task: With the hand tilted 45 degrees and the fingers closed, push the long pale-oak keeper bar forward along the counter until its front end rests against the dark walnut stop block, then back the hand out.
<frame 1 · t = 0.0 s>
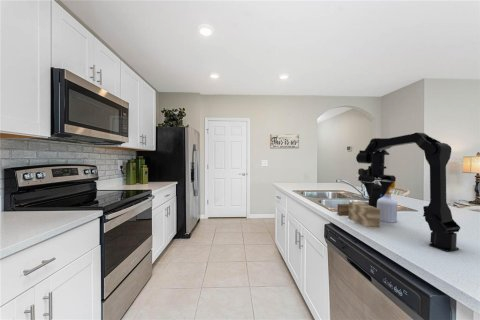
hand: (376, 195, 112), 15 cm above the countertop, tool pointing down, fingers open, 9 cm apart
aerosol can: (375, 214, 135), on the countertop
stop block: (346, 214, 132), on the countertop
keeper bar: (362, 222, 117), on the countertop
soap bottle: (386, 220, 122), on the countertop
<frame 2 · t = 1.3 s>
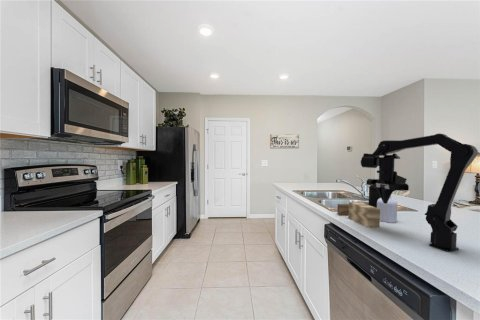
hand: (385, 203, 103), 13 cm above the countertop, tool pointing down, fingers closed
nothing on the countertop moved.
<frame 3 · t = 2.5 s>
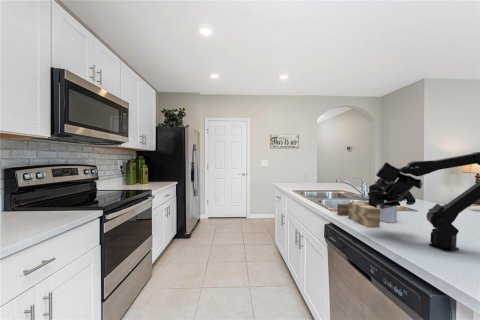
hand: (381, 208, 105), 10 cm above the countertop, tool tilted 45°, fingers closed
nothing on the countertop moved.
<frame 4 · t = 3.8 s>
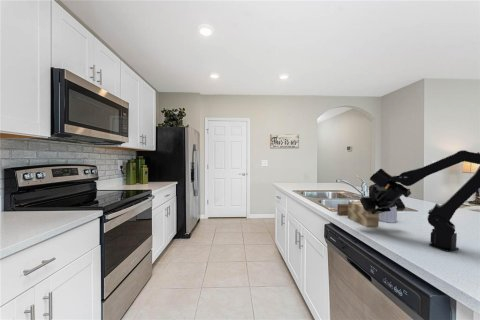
hand: (372, 213, 110), 7 cm above the countertop, tool tilted 45°, fingers closed, pressing on keeper bar
keeper bar: (362, 222, 118), on the countertop, touching gripper
everything else where it was.
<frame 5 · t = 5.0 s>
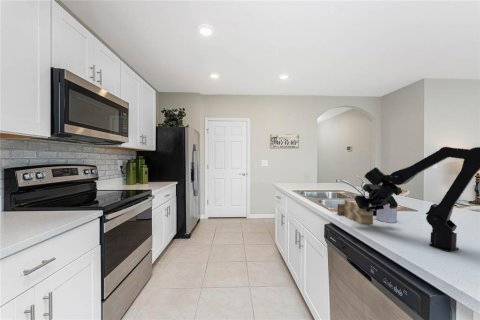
hand: (367, 211, 114), 7 cm above the countertop, tool tilted 45°, fingers closed, pressing on keeper bar
keeper bar: (357, 219, 122), on the countertop, touching gripper, stop block
everything else where it was.
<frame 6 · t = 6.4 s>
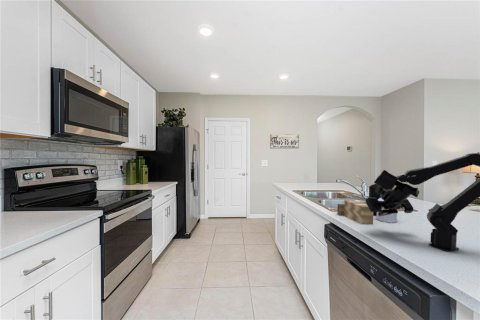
hand: (379, 215, 106), 7 cm above the countertop, tool tilted 45°, fingers closed
keeper bar: (357, 219, 122), on the countertop
everything else where it was.
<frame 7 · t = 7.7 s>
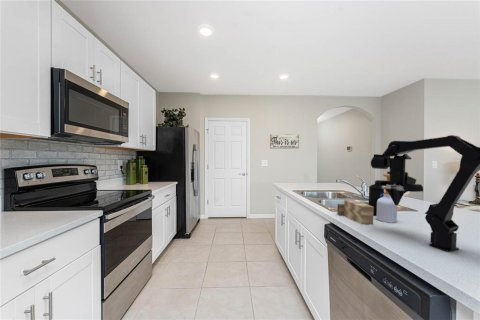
hand: (396, 205, 101), 13 cm above the countertop, tool pointing down, fingers closed
nothing on the countertop moved.
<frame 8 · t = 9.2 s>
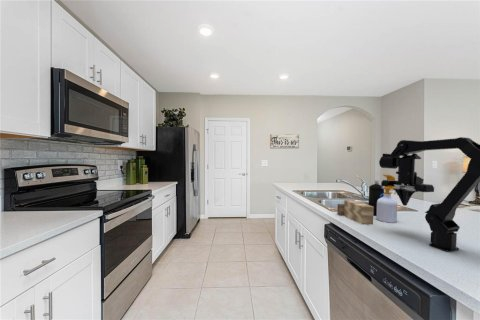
hand: (404, 205, 99), 13 cm above the countertop, tool pointing down, fingers closed
nothing on the countertop moved.
at the end: keeper bar 0.3 cm from the target spot, on the countertop; keeper bar tilted 0°; keeper bar moved 5.0 cm from its start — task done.
